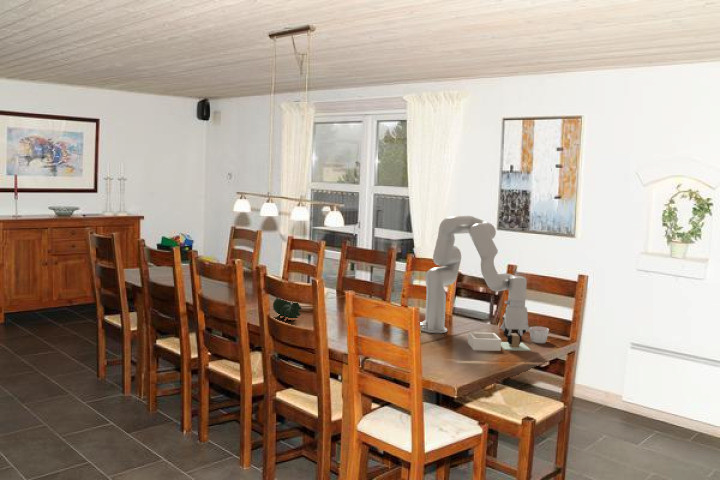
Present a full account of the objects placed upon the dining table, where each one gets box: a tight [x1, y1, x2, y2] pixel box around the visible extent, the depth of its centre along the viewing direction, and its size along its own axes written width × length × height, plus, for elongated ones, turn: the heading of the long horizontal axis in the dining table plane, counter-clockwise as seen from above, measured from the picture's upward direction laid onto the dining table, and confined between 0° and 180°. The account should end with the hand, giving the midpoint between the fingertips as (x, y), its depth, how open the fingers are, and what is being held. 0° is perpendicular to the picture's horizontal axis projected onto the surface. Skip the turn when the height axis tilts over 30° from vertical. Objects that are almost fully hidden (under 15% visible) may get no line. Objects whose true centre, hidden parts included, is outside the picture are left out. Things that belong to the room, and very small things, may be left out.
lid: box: [501, 333, 531, 352], centre depth 307 cm, size 12×12×6 cm
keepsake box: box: [467, 331, 502, 352], centre depth 306 cm, size 12×12×6 cm
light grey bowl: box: [529, 325, 550, 344], centre depth 323 cm, size 9×9×6 cm
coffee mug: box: [502, 315, 518, 337], centre depth 331 cm, size 12×9×10 cm
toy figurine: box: [272, 297, 302, 318], centre depth 350 cm, size 9×19×25 cm
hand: (514, 343), depth 308 cm, fingers open, 3 cm apart
